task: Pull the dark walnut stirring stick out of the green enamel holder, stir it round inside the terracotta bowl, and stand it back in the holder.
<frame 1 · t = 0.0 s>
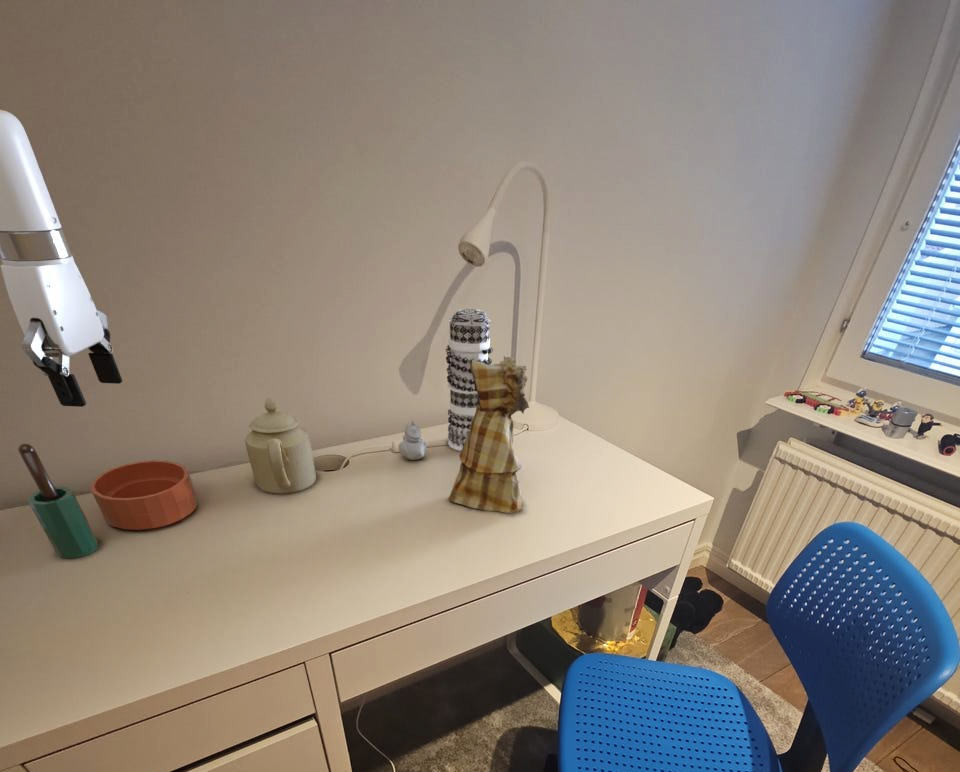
hand: (93, 393, 79), 20 cm above the table, tool pointing down, fingers open, 9 cm apart
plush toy: (490, 498, 102), on the table
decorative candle: (467, 444, 120), on the table
sugar bowl: (291, 485, 103), on the table
mixing bowl: (153, 512, 94), on the table
grey figurine: (412, 458, 114), on the table
stirring stick: (76, 545, 85), point 1 cm above the table, touching stick holder
stick holder: (78, 549, 85), on the table
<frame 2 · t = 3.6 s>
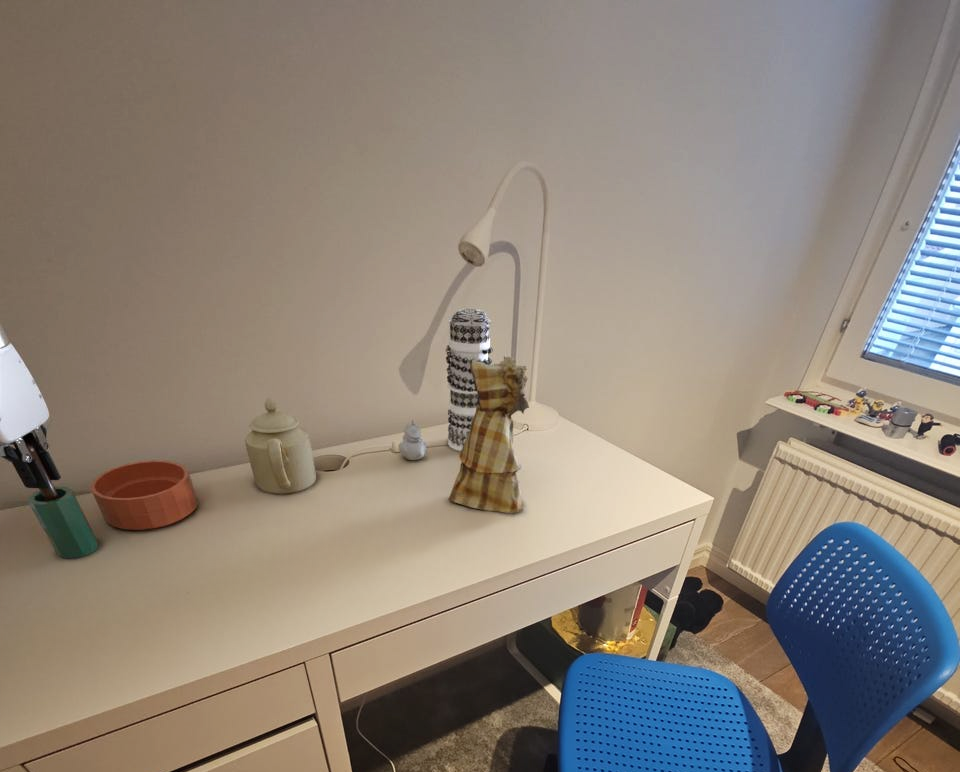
hand: (43, 482, 78), 11 cm above the table, tool pointing down, fingers closed on stirring stick, 1 cm apart
stirring stick: (76, 545, 85), point 1 cm above the table, touching gripper, stick holder
everything else where it was.
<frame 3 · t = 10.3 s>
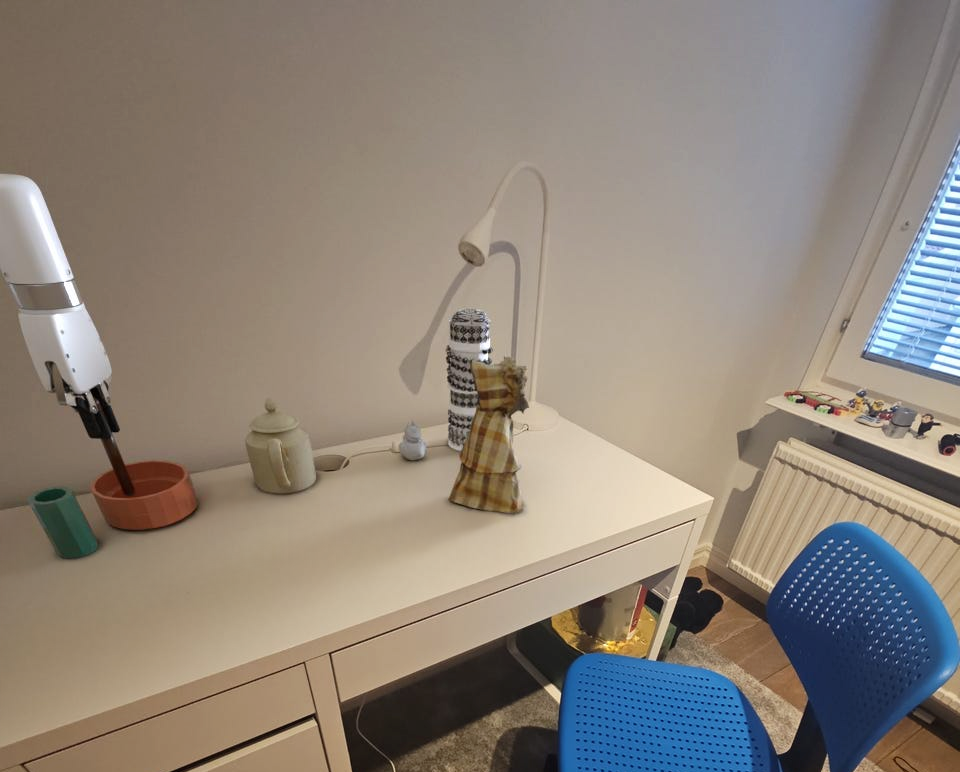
hand: (105, 433, 85), 13 cm above the table, tool pointing down, fingers closed on stirring stick, 1 cm apart
stirring stick: (131, 495, 92), point 3 cm above the table, touching gripper
everything else where it was.
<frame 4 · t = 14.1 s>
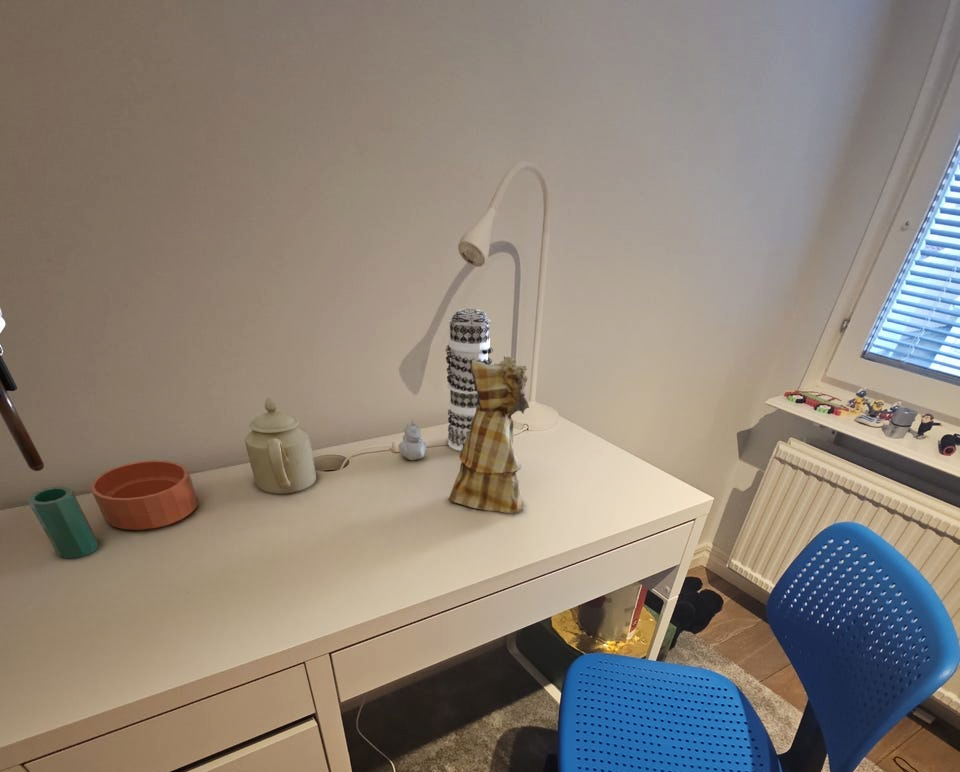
stirring stick: (38, 470, 77), point 13 cm above the table, touching gripper
everything else where it was.
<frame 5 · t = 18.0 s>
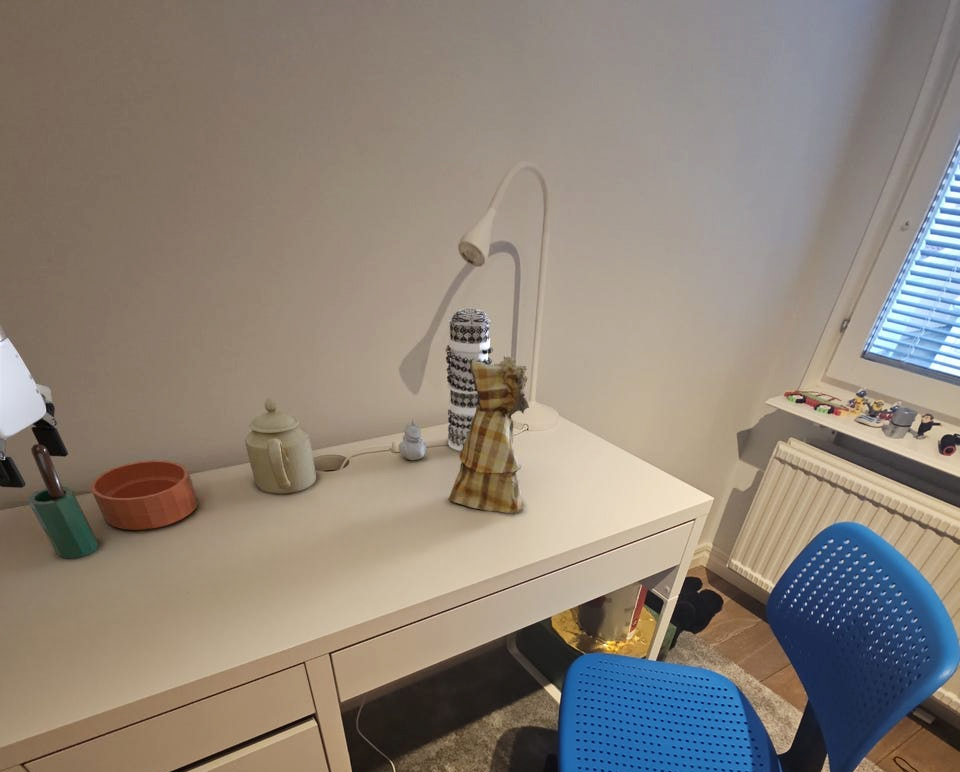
hand: (36, 470, 77), 13 cm above the table, tool pointing down, fingers open, 9 cm apart
stirring stick: (78, 545, 85), point 1 cm above the table, tilted 5°, touching stick holder
everything else where it was.
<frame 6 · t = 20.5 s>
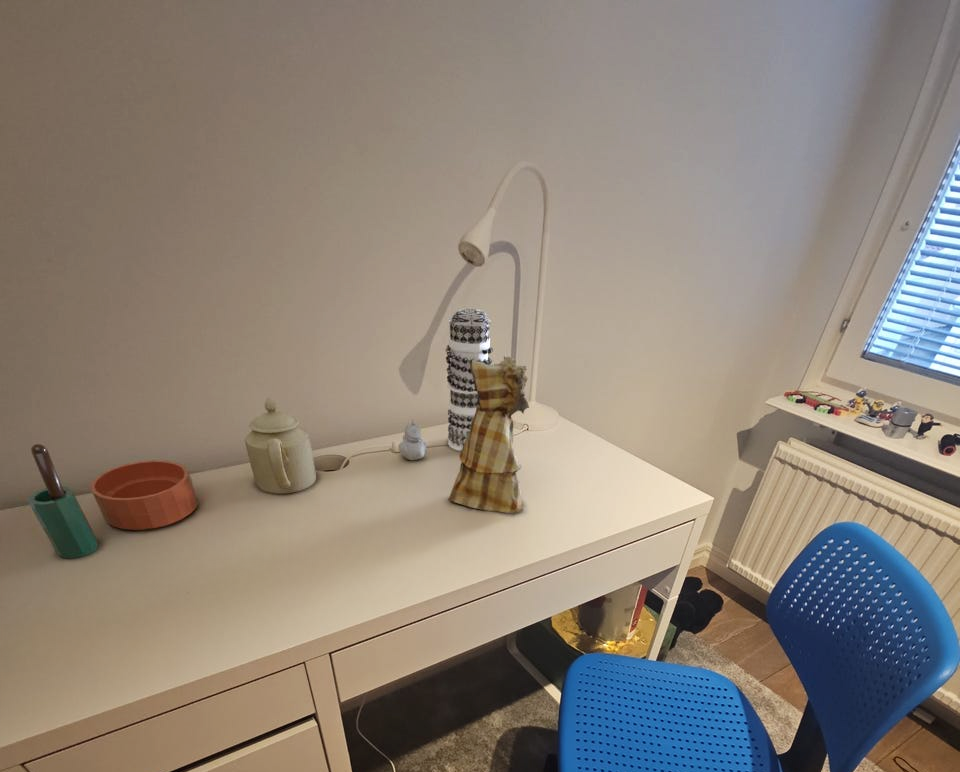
nothing on the table moved.
at the end: stirring stick 0.2 cm off-centre in the stick holder, point 0.6 cm above the stick holder's base; stirring stick tilted 5°; the gripper is holding nothing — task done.
